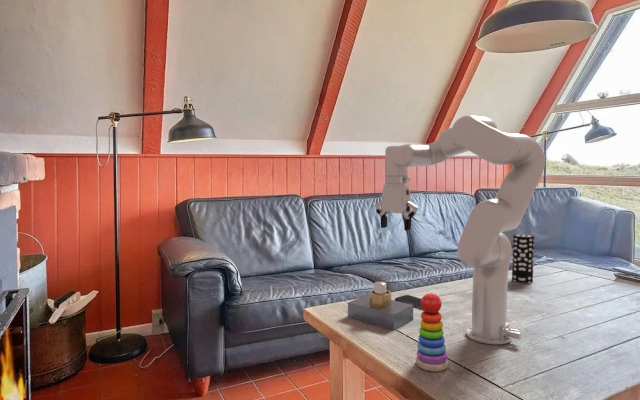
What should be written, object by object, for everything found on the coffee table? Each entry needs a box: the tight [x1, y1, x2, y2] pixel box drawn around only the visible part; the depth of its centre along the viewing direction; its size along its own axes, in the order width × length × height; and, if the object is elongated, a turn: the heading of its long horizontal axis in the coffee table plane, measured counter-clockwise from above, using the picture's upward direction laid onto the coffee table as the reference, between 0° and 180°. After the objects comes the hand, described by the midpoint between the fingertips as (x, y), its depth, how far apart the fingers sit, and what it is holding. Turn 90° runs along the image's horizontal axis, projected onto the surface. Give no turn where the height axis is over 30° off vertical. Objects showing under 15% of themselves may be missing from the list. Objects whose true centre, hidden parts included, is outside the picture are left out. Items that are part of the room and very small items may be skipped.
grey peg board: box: [347, 281, 414, 331], centre depth 144 cm, size 18×12×12 cm, turn 48°
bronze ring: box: [369, 289, 392, 307], centre depth 144 cm, size 7×7×4 cm
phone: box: [394, 294, 424, 311], centre depth 160 cm, size 8×1×15 cm
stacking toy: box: [415, 292, 449, 372], centre depth 110 cm, size 8×8×19 cm
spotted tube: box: [511, 233, 535, 284], centre depth 189 cm, size 8×8×20 cm
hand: (395, 228), depth 155 cm, fingers open, 9 cm apart
